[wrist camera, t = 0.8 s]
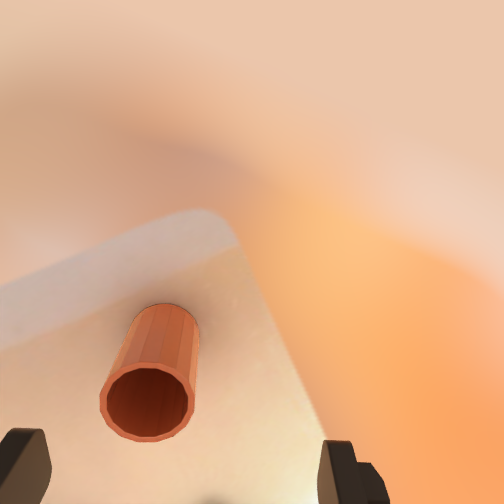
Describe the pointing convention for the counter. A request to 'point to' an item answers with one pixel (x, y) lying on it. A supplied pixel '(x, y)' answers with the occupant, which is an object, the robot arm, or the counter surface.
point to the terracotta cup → (153, 376)
